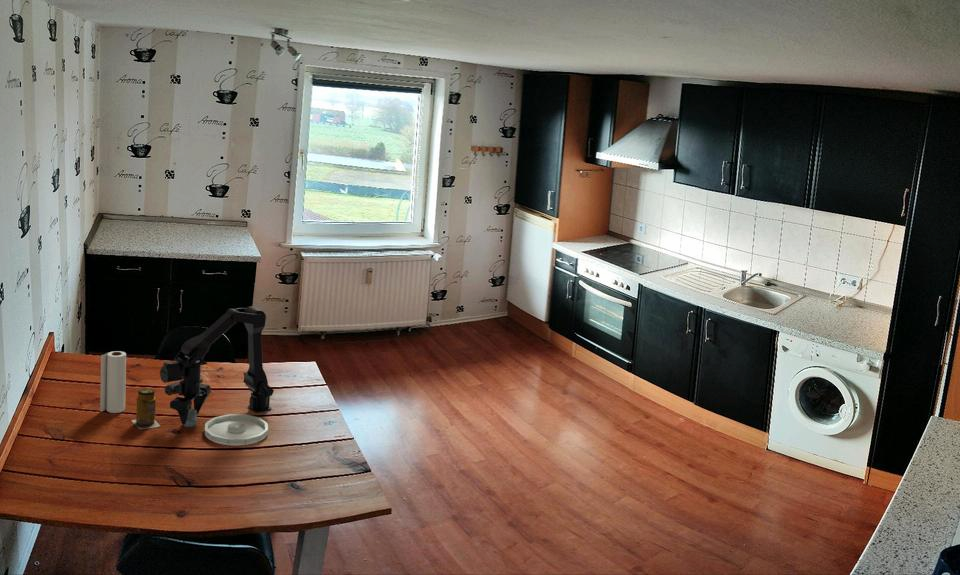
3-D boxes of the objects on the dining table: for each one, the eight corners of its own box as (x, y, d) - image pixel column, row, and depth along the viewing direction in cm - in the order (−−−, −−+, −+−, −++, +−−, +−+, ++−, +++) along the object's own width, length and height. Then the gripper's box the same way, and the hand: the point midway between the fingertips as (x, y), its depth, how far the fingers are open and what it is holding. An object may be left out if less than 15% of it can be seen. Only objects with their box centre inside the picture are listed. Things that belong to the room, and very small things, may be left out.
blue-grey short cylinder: (192, 421, 295) (192, 407, 294) (198, 425, 292) (199, 412, 291) (180, 423, 292) (181, 410, 290) (186, 428, 289) (187, 414, 287)
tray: (246, 415, 304) (247, 410, 304) (279, 436, 291) (279, 430, 290) (193, 428, 289) (193, 422, 288) (224, 450, 275) (225, 444, 275)
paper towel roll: (127, 407, 299) (128, 351, 294) (121, 414, 293) (122, 357, 288) (107, 405, 298) (108, 349, 293) (100, 412, 293) (100, 354, 287)
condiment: (152, 417, 294) (153, 385, 291) (160, 426, 287) (161, 394, 284) (131, 420, 289) (131, 388, 286) (138, 430, 283) (139, 397, 280)
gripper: (183, 365, 297) (181, 405, 301) (155, 382, 279) (154, 425, 283) (212, 370, 296) (210, 411, 300) (187, 387, 278) (185, 431, 282)
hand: (190, 419), depth 291 cm, fingers open, 9 cm apart
